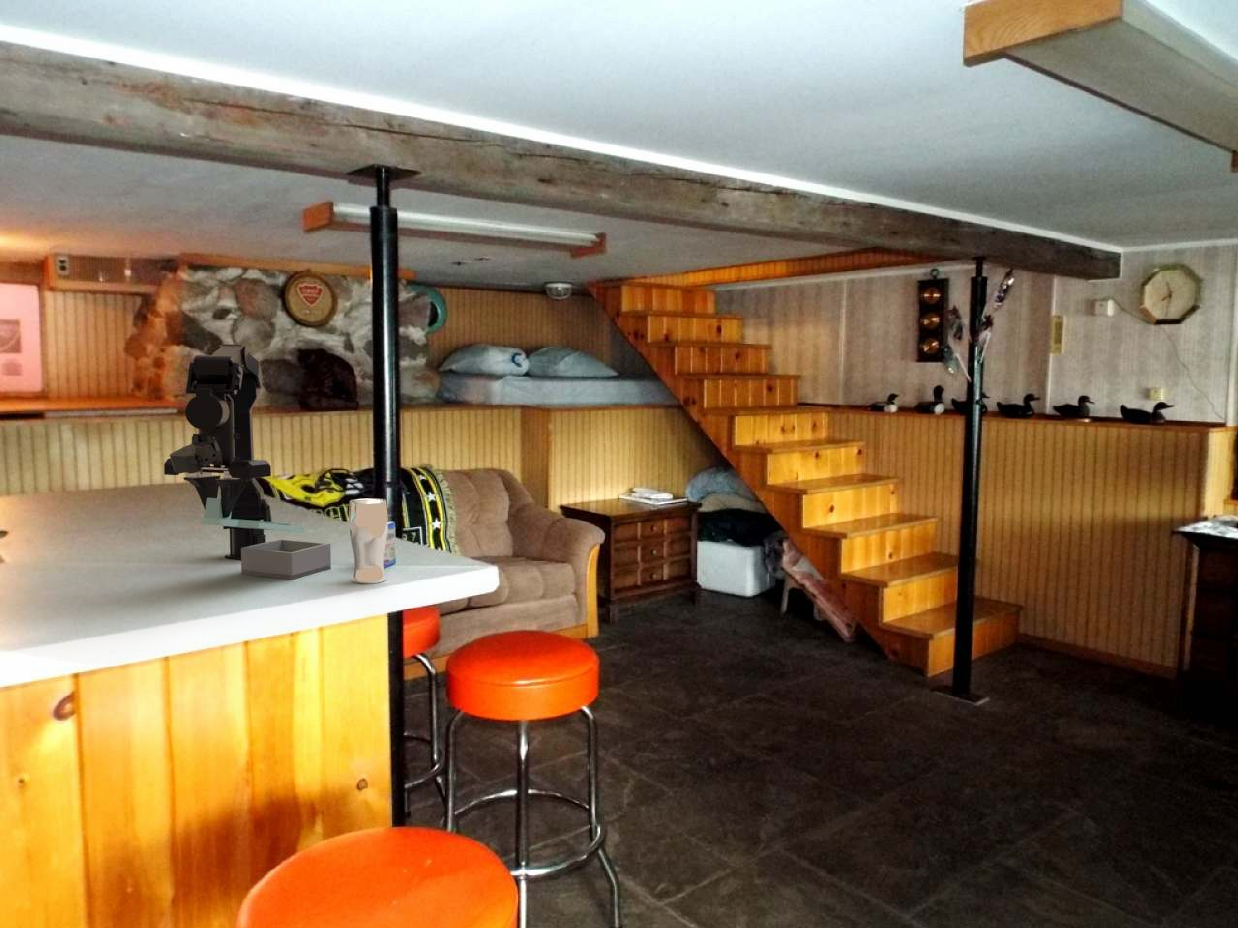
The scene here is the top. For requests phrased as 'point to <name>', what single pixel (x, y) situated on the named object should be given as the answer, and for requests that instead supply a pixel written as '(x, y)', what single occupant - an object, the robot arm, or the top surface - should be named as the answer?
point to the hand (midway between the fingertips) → (218, 517)
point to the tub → (285, 559)
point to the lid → (216, 518)
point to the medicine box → (390, 546)
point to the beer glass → (368, 539)
